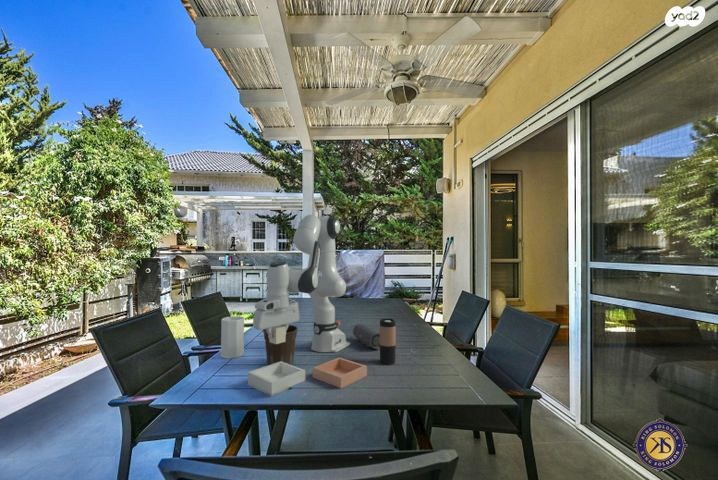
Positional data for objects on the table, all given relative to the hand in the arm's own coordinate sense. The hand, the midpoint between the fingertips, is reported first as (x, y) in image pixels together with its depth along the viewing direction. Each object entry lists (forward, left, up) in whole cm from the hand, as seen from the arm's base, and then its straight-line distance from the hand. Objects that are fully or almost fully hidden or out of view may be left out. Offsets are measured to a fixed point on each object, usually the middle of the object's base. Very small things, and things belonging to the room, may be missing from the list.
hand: (277, 336), depth 130 cm
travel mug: (-49, +20, -19) cm, 56 cm away
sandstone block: (0, 0, -2) cm, 2 cm away
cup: (-6, -45, -19) cm, 50 cm away
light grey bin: (0, 0, -19) cm, 19 cm away
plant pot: (-15, -18, -19) cm, 30 cm away
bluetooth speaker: (-64, -4, -19) cm, 67 cm away
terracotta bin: (-20, +16, -19) cm, 32 cm away
